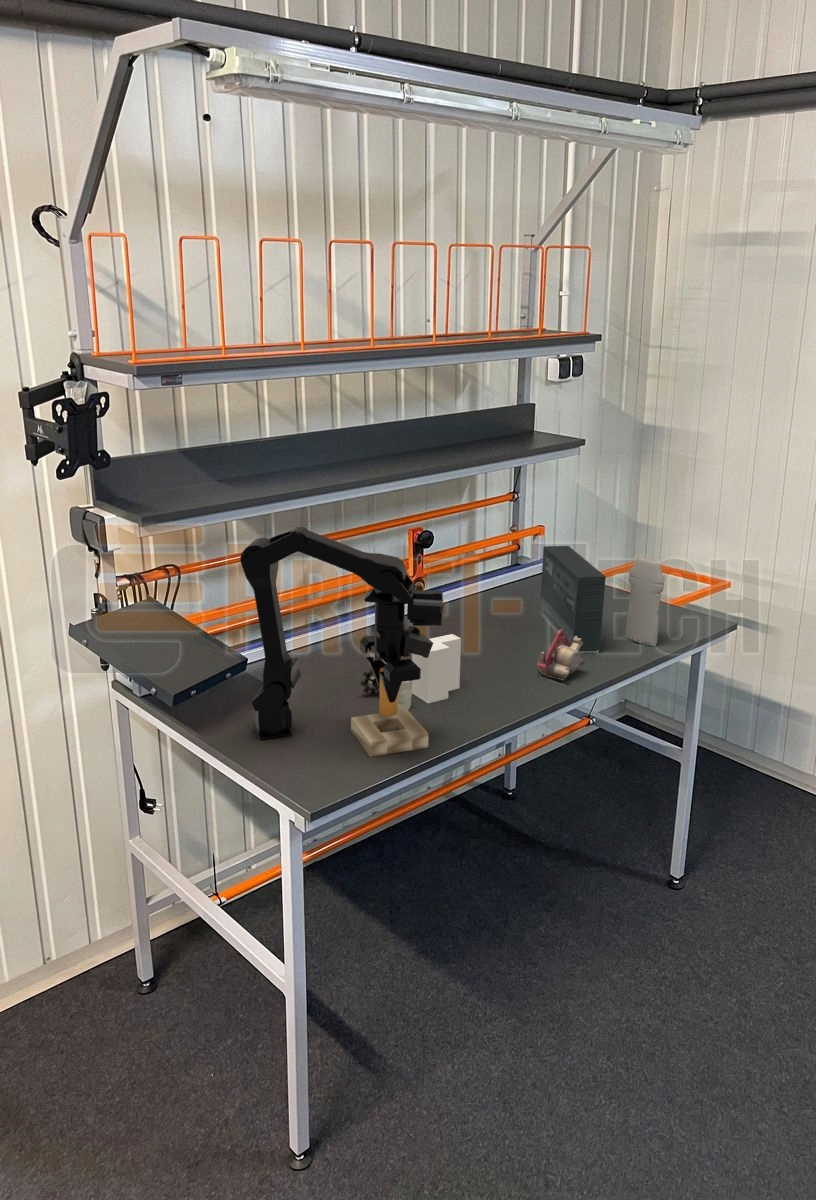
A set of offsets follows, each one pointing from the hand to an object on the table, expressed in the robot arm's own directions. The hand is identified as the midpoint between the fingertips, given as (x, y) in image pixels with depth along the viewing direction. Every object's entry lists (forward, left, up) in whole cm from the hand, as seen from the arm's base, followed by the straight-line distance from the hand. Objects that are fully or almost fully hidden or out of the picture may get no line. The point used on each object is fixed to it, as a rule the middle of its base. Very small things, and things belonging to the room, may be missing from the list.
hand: (388, 698), depth 189 cm
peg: (0, 0, -3) cm, 3 cm away
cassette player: (+65, +42, -9) cm, 78 cm away
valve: (+7, +17, -9) cm, 21 cm away
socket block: (0, 0, -9) cm, 9 cm away
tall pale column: (+80, +31, -9) cm, 86 cm away
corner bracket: (+18, +20, -9) cm, 28 cm away
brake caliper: (+49, +18, -9) cm, 53 cm away
